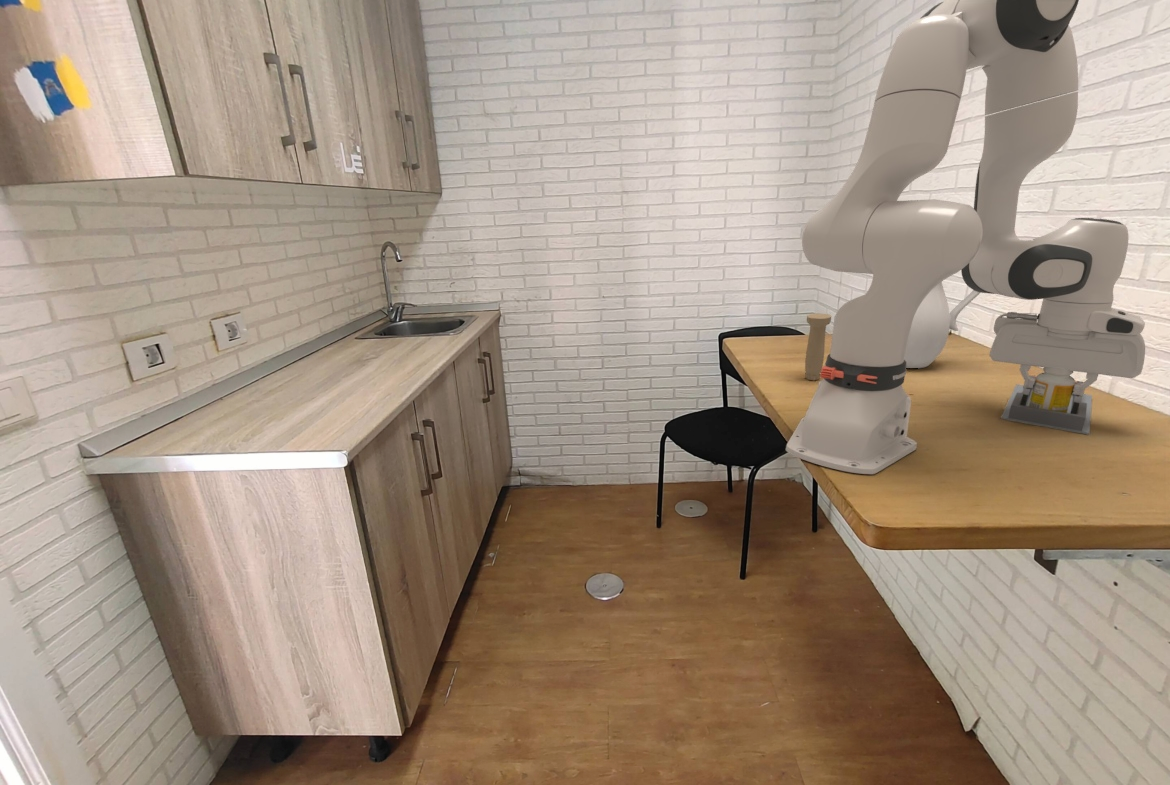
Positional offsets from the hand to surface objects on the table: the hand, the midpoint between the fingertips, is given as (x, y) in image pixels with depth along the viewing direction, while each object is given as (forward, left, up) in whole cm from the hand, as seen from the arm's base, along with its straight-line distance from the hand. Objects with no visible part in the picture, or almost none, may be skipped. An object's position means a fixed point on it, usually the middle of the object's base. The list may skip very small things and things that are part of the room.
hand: (1052, 391), depth 94 cm
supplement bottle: (0, 0, -5) cm, 5 cm away
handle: (-1, +42, -5) cm, 42 cm away
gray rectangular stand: (+7, 0, -5) cm, 8 cm away
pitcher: (+26, +26, -5) cm, 37 cm away
